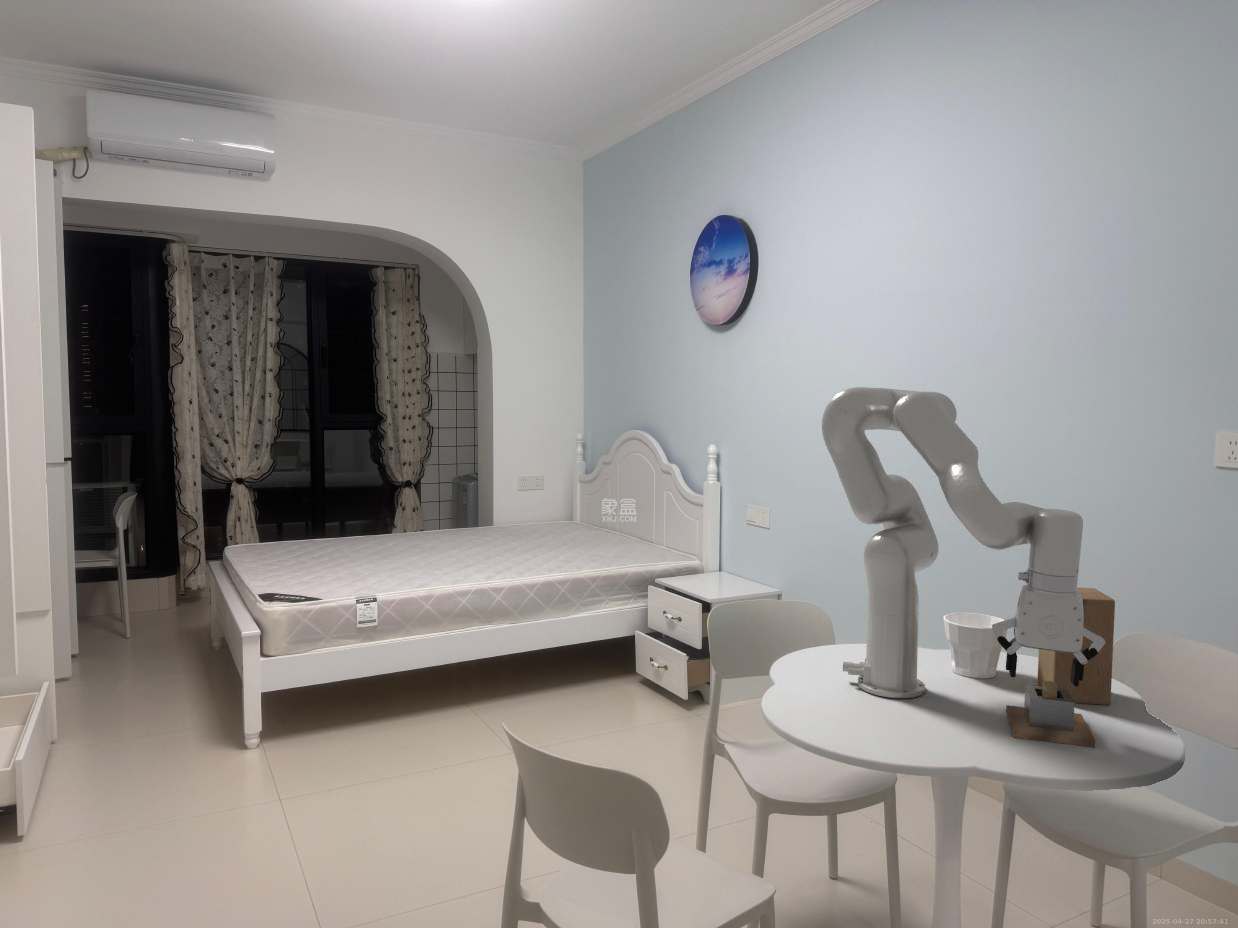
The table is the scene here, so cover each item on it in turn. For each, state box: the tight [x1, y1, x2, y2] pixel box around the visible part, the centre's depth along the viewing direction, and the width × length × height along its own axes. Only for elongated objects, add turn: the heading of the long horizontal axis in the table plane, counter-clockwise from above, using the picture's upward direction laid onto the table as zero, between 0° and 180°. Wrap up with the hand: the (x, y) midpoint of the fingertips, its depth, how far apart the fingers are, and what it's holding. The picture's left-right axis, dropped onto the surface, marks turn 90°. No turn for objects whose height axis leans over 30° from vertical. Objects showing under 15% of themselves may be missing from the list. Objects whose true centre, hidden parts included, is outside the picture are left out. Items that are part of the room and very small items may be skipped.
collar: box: [1023, 684, 1075, 732], centre depth 139 cm, size 7×7×5 cm
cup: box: [943, 612, 1008, 680], centre depth 169 cm, size 12×12×11 cm
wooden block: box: [1037, 587, 1116, 706], centre depth 155 cm, size 10×10×20 cm
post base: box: [1005, 681, 1096, 748], centre depth 139 cm, size 12×12×8 cm
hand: (1042, 679), depth 140 cm, fingers open, 9 cm apart
